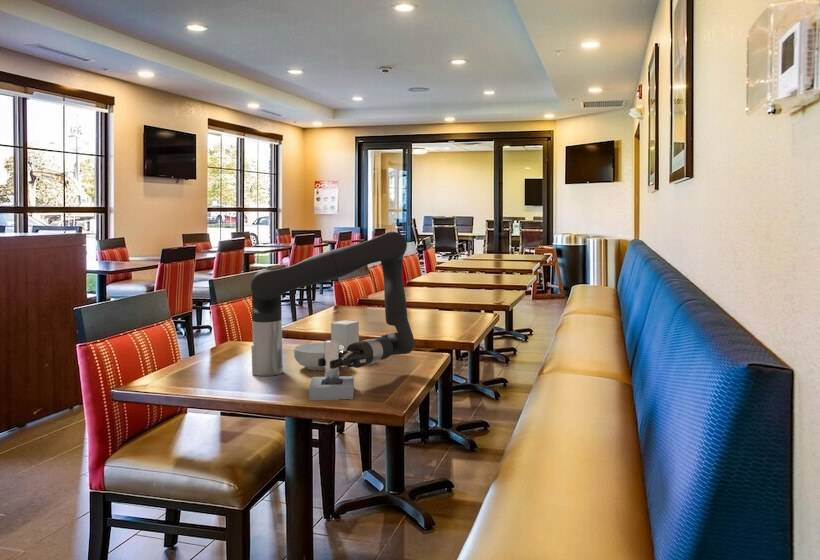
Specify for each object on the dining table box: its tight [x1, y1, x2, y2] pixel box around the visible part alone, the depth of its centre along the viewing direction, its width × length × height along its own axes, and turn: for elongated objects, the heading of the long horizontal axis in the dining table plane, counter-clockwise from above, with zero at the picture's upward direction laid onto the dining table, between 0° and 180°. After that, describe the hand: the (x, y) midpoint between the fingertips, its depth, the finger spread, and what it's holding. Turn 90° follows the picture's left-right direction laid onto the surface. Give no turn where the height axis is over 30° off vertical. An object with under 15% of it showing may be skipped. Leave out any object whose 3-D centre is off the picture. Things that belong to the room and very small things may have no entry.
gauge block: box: [308, 375, 355, 401], centre depth 185 cm, size 12×12×4 cm
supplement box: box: [330, 319, 360, 350], centre depth 232 cm, size 7×7×13 cm
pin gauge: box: [323, 339, 340, 385], centre depth 185 cm, size 4×4×14 cm
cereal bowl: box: [293, 342, 345, 371], centre depth 216 cm, size 17×17×7 cm
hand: (325, 363), depth 182 cm, fingers closed on pin gauge, 4 cm apart
